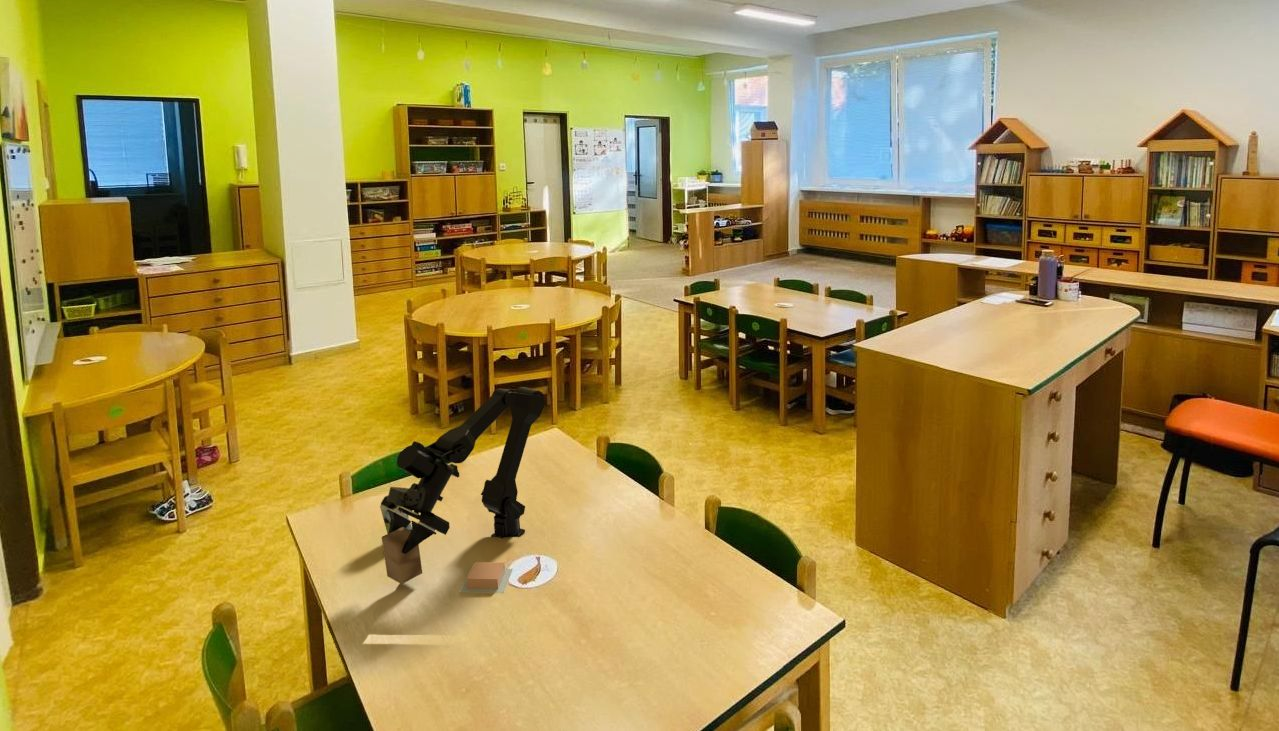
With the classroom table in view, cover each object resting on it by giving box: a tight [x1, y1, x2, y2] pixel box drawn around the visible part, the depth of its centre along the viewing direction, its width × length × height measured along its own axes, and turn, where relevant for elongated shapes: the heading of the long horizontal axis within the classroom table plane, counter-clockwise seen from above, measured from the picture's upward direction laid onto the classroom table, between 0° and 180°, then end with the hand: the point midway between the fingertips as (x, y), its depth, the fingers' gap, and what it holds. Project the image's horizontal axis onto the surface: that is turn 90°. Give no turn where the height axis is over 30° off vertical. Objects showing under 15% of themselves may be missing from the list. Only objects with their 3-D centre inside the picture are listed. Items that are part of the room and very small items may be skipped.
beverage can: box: [379, 498, 412, 535], centre depth 195 cm, size 6×7×12 cm
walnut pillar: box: [381, 527, 423, 585], centre depth 172 cm, size 6×6×10 cm
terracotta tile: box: [466, 561, 506, 589], centre depth 174 cm, size 7×7×2 cm
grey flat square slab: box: [459, 568, 514, 594], centre depth 175 cm, size 10×10×2 cm
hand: (395, 549), depth 171 cm, fingers closed on walnut pillar, 5 cm apart
